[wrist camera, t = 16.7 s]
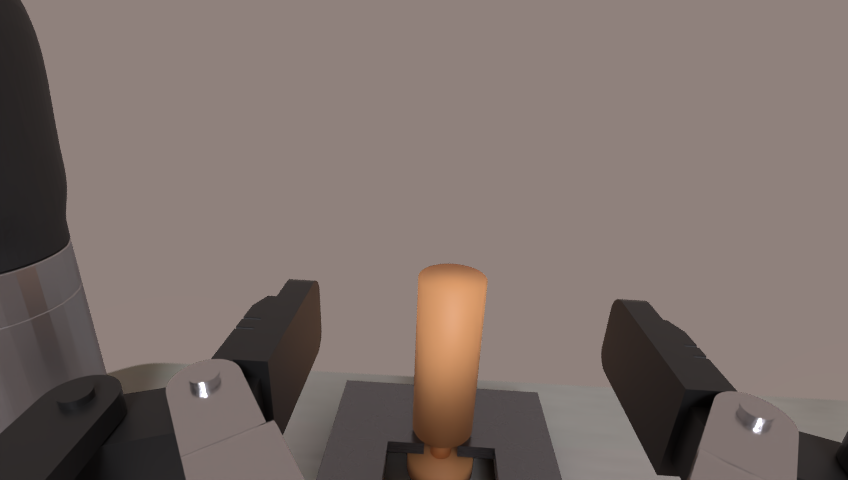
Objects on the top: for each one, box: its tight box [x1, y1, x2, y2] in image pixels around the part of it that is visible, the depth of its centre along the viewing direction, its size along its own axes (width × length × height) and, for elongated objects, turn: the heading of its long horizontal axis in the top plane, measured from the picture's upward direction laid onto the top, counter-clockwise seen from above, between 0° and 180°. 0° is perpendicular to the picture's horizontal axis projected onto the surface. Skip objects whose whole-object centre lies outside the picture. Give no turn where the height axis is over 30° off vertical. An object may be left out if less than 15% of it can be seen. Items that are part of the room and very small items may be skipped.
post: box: [407, 264, 487, 480], centre depth 31 cm, size 5×5×16 cm
